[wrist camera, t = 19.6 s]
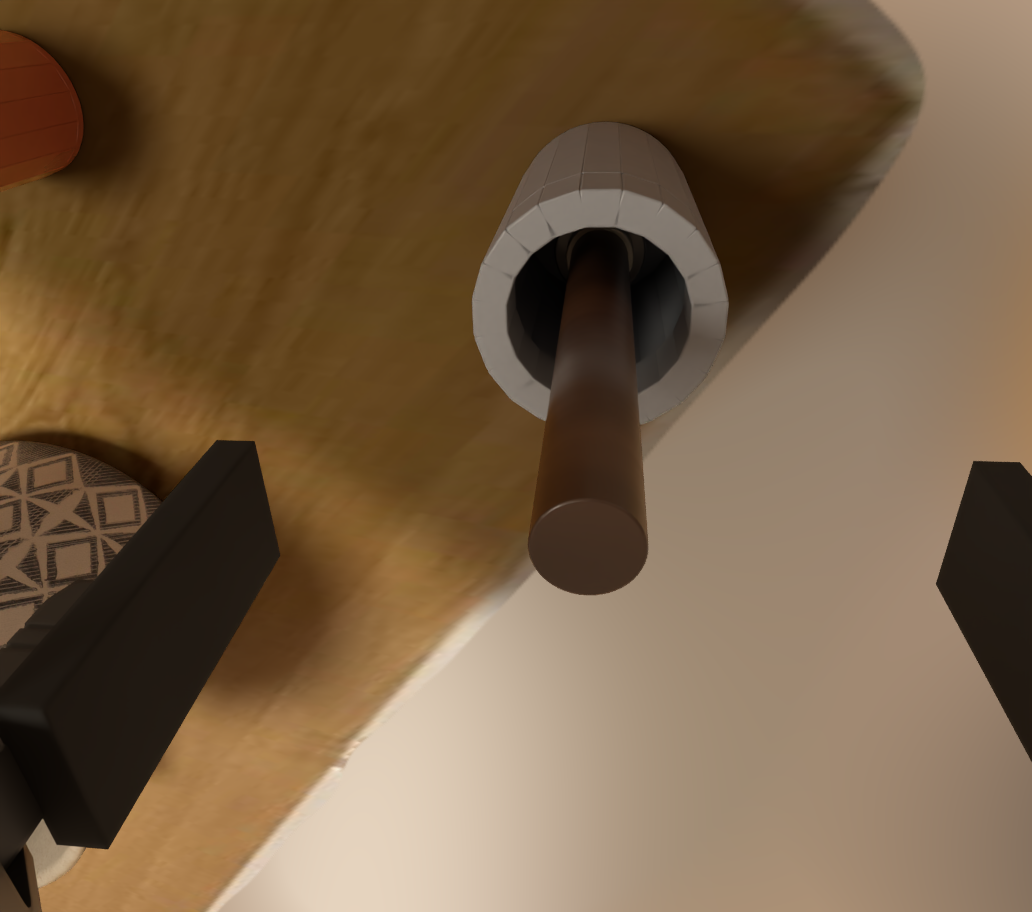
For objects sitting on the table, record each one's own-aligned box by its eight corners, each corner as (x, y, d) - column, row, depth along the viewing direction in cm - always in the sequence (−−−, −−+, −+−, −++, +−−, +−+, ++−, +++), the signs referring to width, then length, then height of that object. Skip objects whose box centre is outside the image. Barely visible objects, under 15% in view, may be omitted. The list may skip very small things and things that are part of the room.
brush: (643, 176, 35) (696, 467, 13) (639, 258, 37) (680, 629, 15) (561, 177, 35) (485, 462, 14) (561, 258, 37) (493, 620, 16)
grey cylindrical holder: (695, 120, 34) (742, 187, 22) (681, 295, 38) (714, 434, 26) (514, 123, 35) (465, 190, 23) (519, 294, 39) (478, 429, 27)
